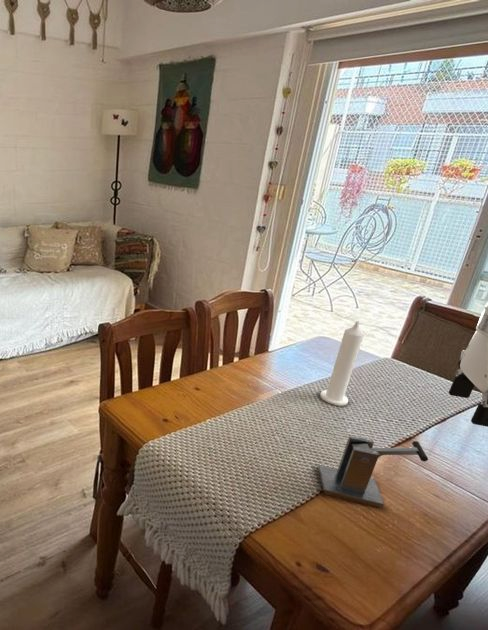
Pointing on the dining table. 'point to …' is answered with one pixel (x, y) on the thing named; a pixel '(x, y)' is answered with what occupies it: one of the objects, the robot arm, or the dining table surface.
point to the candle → (343, 366)
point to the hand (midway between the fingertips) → (469, 409)
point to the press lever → (397, 450)
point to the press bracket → (353, 475)
